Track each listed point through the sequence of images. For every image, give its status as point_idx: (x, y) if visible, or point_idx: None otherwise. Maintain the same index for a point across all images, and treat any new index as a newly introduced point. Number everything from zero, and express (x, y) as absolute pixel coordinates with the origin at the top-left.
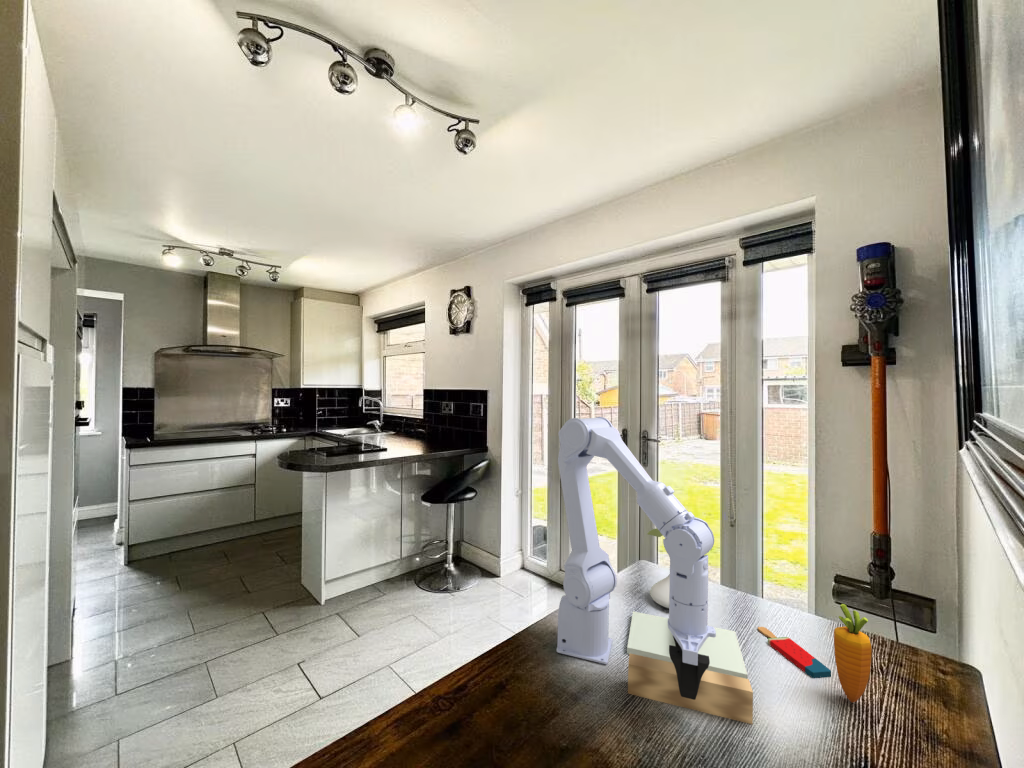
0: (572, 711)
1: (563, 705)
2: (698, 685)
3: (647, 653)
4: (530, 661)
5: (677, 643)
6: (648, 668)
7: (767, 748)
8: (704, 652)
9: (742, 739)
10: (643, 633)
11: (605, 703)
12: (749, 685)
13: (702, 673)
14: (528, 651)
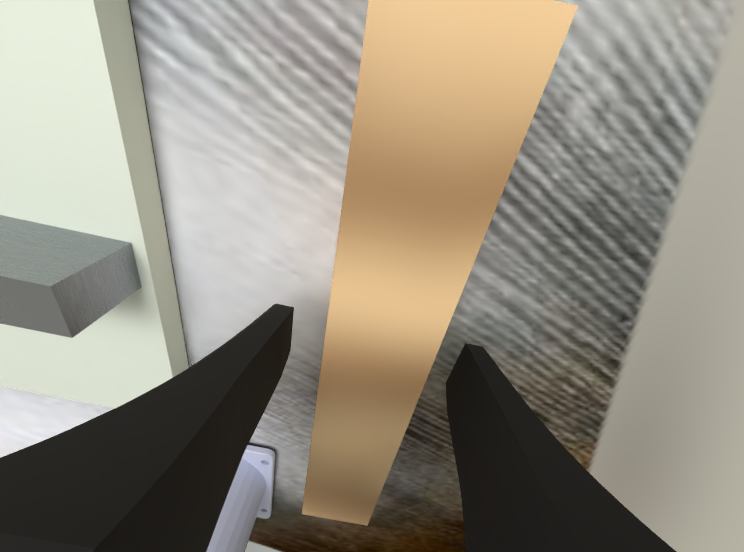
0: (451, 506)
1: (435, 514)
2: (531, 410)
3: (176, 373)
4: (316, 537)
5: (227, 482)
6: (379, 491)
7: (655, 34)
8: (8, 149)
9: (578, 150)
10: (57, 367)
11: (420, 465)
12: (477, 2)
13: (629, 517)
14: (286, 537)
